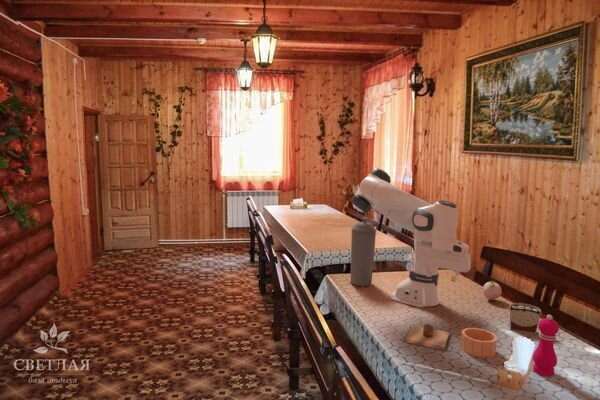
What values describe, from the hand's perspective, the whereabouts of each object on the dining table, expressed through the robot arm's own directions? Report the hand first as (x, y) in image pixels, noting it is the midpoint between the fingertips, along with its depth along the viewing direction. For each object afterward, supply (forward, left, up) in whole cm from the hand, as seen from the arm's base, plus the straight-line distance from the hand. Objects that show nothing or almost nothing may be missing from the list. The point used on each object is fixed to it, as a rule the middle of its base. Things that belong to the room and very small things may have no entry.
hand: (441, 279), depth 175 cm
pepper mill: (+36, -11, -23) cm, 45 cm away
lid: (-3, -5, -23) cm, 23 cm away
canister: (-46, +47, -23) cm, 69 cm away
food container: (+30, +25, -23) cm, 46 cm away
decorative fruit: (+17, +55, -23) cm, 62 cm away
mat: (-3, -5, -23) cm, 24 cm away
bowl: (+15, -5, -23) cm, 28 cm away
